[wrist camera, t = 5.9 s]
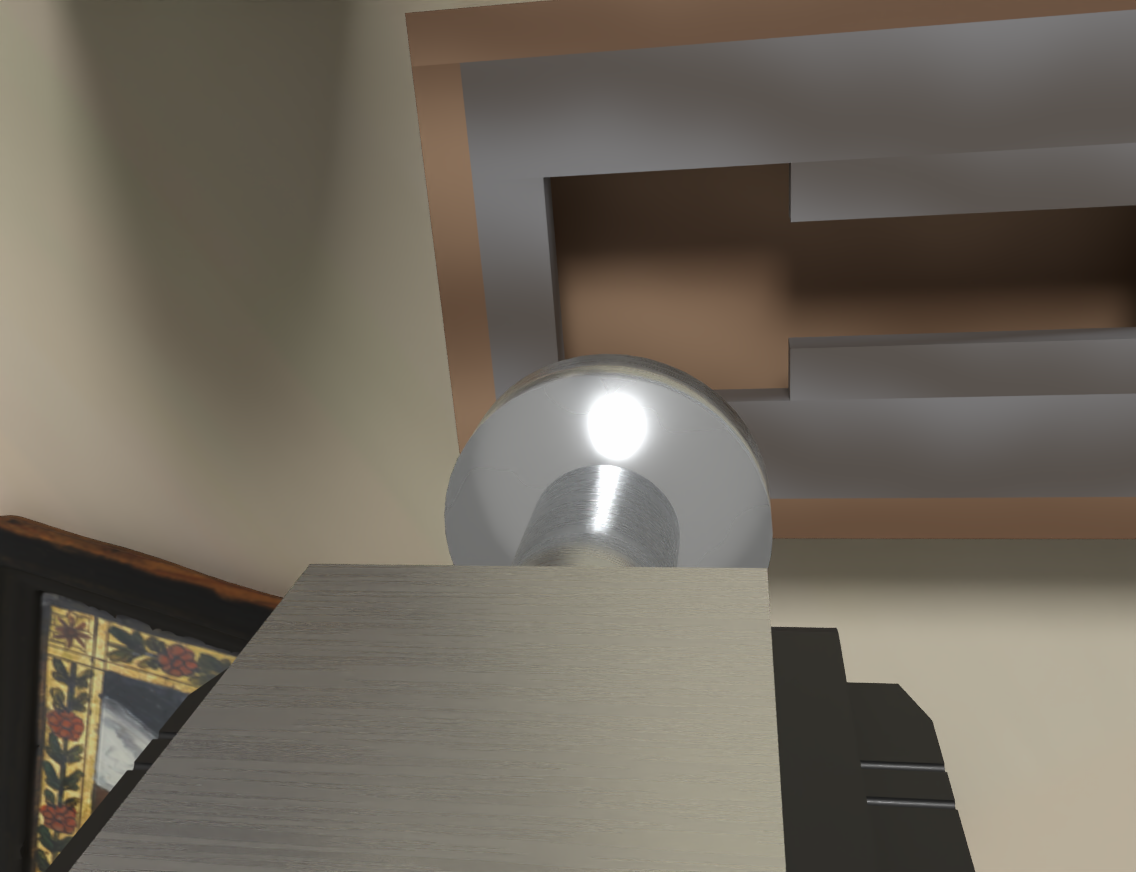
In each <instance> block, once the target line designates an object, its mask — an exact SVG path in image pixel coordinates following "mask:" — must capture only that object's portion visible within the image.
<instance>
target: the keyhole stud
mask: <svg viewBox="0 0 1136 872" xmlns="http://www.w3.org/2000/svg"><path fill="white" fill-rule="evenodd" d="M444 515H445V532H446V538H447V543H448V548H449V552H450V555H451V558H452V561H453V564H454V565H350V564H310V565H309V566H308V567H307V569H306V570H305V571H304V572H303V574H302V575H301V576H300V578H299V579H298V580H297V581H296V583H295V584H294V585H293V586H292V588H291V589H290V590H289V592H288V593H287V594H286V595H285V597H284V598H283V599H282V600H281V602H280V603H279V604H278V606H277V607H276V608H275V609H274V611H273V612H272V613H271V614H270V616H269V617H268V618H267V620H266V621H265V622H264V623H263V625H262V626H261V627H260V628H259V630H258V631H257V632H256V634H255V635H254V636H253V637H252V639H251V640H250V641H249V642H248V644H247V645H246V646H245V648H244V649H243V650H242V651H241V653H240V654H239V655H238V657H237V658H236V659H235V660H234V662H233V663H232V664H231V665H230V667H229V668H228V669H227V671H226V672H225V673H224V674H223V676H222V677H221V678H220V679H219V681H218V682H217V683H216V685H215V686H214V687H213V688H212V690H211V691H210V692H209V693H208V695H207V696H206V697H205V699H204V700H203V701H202V702H201V704H200V705H199V706H198V707H197V709H196V710H195V711H194V713H193V714H192V715H191V716H190V718H189V719H188V720H187V721H186V723H185V724H184V725H183V727H182V728H181V729H180V730H179V732H178V733H177V734H176V735H175V737H174V738H173V739H172V741H171V742H170V743H169V744H168V746H167V747H166V748H165V749H164V751H163V752H162V753H161V755H160V756H159V757H158V758H157V760H156V761H155V762H154V763H153V765H152V766H151V767H150V769H149V770H148V771H147V772H146V774H145V775H144V776H143V777H142V779H141V780H140V781H139V783H138V784H137V785H136V786H135V788H134V789H133V790H132V791H131V793H130V794H129V795H128V797H127V798H126V799H125V800H124V802H123V803H122V804H121V805H120V807H119V808H118V809H117V811H116V812H115V813H114V814H113V816H112V817H111V818H110V820H109V821H108V822H107V823H106V825H105V826H104V827H103V828H102V830H101V831H100V832H99V834H98V835H97V836H96V837H95V839H94V840H93V841H92V842H91V844H90V845H89V846H88V848H87V849H86V850H85V851H84V853H83V854H82V855H81V856H80V858H79V859H78V860H77V862H76V863H75V864H74V865H73V867H72V868H71V869H70V870H69V872H786V863H785V847H784V831H783V815H782V799H781V783H780V766H779V750H778V734H777V718H776V702H775V685H774V669H773V653H772V637H771V621H770V604H769V588H768V572H767V570H768V566H769V562H770V557H771V550H772V537H773V532H772V518H771V505H770V492H769V481H768V477H767V472H766V468H765V464H764V461H763V458H762V456H761V453H760V450H759V448H758V445H757V443H756V442H755V440H754V438H753V436H752V434H751V433H750V431H749V429H748V427H747V426H746V425H745V423H744V422H743V421H742V419H741V418H740V417H739V415H738V414H737V413H736V411H735V410H734V409H733V408H732V407H731V406H730V405H729V404H728V403H727V402H726V401H725V400H724V399H723V398H722V397H721V396H720V395H718V394H717V393H716V392H715V391H713V390H712V389H711V388H710V387H708V386H707V385H706V384H704V383H703V382H701V381H699V380H698V379H696V378H694V377H693V376H691V375H689V374H688V373H686V372H684V371H681V370H679V369H677V368H674V367H672V366H670V365H668V364H665V363H661V362H658V361H654V360H651V359H648V358H643V357H637V356H630V355H622V354H596V355H585V356H579V357H574V358H570V359H565V360H561V361H559V362H556V363H553V364H551V365H548V366H545V367H543V368H541V369H539V370H537V371H535V372H533V373H531V374H529V375H527V376H525V377H524V378H523V379H521V380H520V381H518V382H517V383H516V384H514V385H513V386H511V387H510V388H509V389H508V390H507V391H506V392H505V393H504V394H503V395H502V396H500V397H499V398H498V399H497V400H496V401H495V403H494V404H493V405H492V406H491V408H490V409H489V410H488V411H487V413H486V414H485V415H484V417H483V418H482V420H481V421H480V423H479V425H478V426H477V428H476V429H475V431H474V432H473V434H472V436H471V437H470V439H469V440H468V442H467V443H466V445H465V447H464V449H463V450H462V452H461V454H460V456H459V457H458V459H457V462H456V464H455V467H454V469H453V472H452V474H451V477H450V481H449V485H448V489H447V494H446V502H445V514H444Z"/></svg>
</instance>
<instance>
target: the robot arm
mask: <svg viewBox="0 0 1136 872" xmlns="http://www.w3.org/2000/svg"><path fill="white" fill-rule="evenodd" d="M771 637H772V653H773V669H774V685H775V702H776V718H777V734H778V750H779V766H780V783H781V799H782V815H783V831H784V847H785V863H786V872H975V870H974V866H973V863H972V859H971V856H970V852H969V848H968V845H967V841H966V838H965V834H964V831H963V827H962V824H961V820H960V817H959V813H958V810H955V799H954V796H953V792H952V789H951V785H950V781H949V778H948V774H947V772H945V768H944V760H943V757H942V753H941V750H940V746H939V743H938V739H937V736H936V732H935V729H934V725H933V722H932V720H931V719H930V718H929V717H928V716H927V714H926V713H925V712H924V711H923V710H922V709H921V708H920V707H919V706H918V705H917V704H916V703H915V702H914V700H913V699H912V698H911V697H910V696H909V695H908V694H907V693H906V692H905V691H904V690H903V689H902V688H901V686H900V685H899V684H886V683H849V682H847V681H846V675H845V669H844V663H843V657H842V652H841V646H840V640H839V634H838V630H837V628H806V627H771ZM228 668H229V667H228ZM228 668H227V669H228ZM227 669H226V670H224V671H223V672H221V673H220V674H218V675H217V676H215V677H214V678H212V679H211V680H210V681H208V682H207V683H205V684H204V685H202V686H201V687H199V688H198V689H196V690H195V691H194V692H192V693H191V694H189V695H188V696H187V697H186V698H185V700H184V701H183V702H182V703H181V705H180V706H179V707H178V708H177V710H176V711H175V712H174V713H173V714H172V716H171V717H170V718H169V719H168V721H167V722H166V723H165V724H164V726H163V727H162V728H161V729H160V730H159V736H158V739H152V740H151V742H150V743H149V744H148V745H147V746H146V748H145V749H144V750H143V751H142V753H141V754H140V755H139V756H138V758H137V759H136V760H135V761H134V768H133V770H127V771H126V772H125V774H124V775H123V776H122V777H121V779H120V780H119V781H118V782H117V783H116V785H115V786H114V787H113V788H112V790H111V791H110V792H109V793H108V795H107V796H106V797H105V798H104V799H103V801H102V802H101V803H100V804H99V806H98V807H97V808H96V809H95V811H94V812H93V813H92V814H91V815H90V817H89V818H88V819H87V820H86V822H85V823H84V824H83V825H82V827H81V828H80V829H79V830H78V831H77V833H76V834H75V835H74V836H73V838H72V839H71V840H70V841H69V843H68V844H67V845H66V846H65V847H64V849H63V850H62V851H61V852H60V854H59V855H58V856H57V857H56V859H55V860H54V861H53V862H52V863H51V865H50V866H49V867H48V868H47V870H46V871H45V872H69V870H70V869H71V868H72V867H73V865H74V864H75V863H76V862H77V860H78V859H79V858H80V856H81V855H82V854H83V853H84V851H85V850H86V849H87V848H88V846H89V845H90V844H91V842H92V841H93V840H94V839H95V837H96V836H97V835H98V834H99V832H100V831H101V830H102V828H103V827H104V826H105V825H106V823H107V822H108V821H109V820H110V818H111V817H112V816H113V814H114V813H115V812H116V811H117V809H118V808H119V807H120V805H121V804H122V803H123V802H124V800H125V799H126V798H127V797H128V795H129V794H130V793H131V791H132V790H133V789H134V788H135V786H136V785H137V784H138V783H139V781H140V780H141V779H142V777H143V776H144V775H145V774H146V772H147V771H148V770H149V769H150V767H151V766H152V765H153V763H154V762H155V761H156V760H157V758H158V757H159V756H160V755H161V753H162V752H163V751H164V749H165V748H166V747H167V746H168V744H169V743H170V742H171V741H172V739H173V738H174V737H175V735H176V734H177V733H178V732H179V730H180V729H181V728H182V727H183V725H184V724H185V723H186V721H187V720H188V719H189V718H190V716H191V715H192V714H193V713H194V711H195V710H196V709H197V707H198V706H199V705H200V704H201V702H202V701H203V700H204V699H205V697H206V696H207V695H208V693H209V692H210V691H211V690H212V688H213V687H214V686H215V685H216V683H217V682H218V681H219V679H220V678H221V677H222V676H223V674H224V673H225V672H226V671H227Z"/></svg>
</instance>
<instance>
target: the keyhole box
mask: <svg viewBox="0 0 1136 872" xmlns="http://www.w3.org/2000/svg"><path fill="white" fill-rule="evenodd" d="M405 17H406V25H407V33H408V41H409V49H410V57H411V65H412V73H413V81H414V89H415V97H416V105H417V113H418V121H419V130H420V138H421V146H422V154H423V162H424V170H425V178H426V186H427V194H428V202H429V210H430V218H431V226H432V234H433V242H434V250H435V258H436V266H437V274H438V283H439V291H440V299H441V307H442V315H443V323H444V331H445V339H446V347H447V355H448V363H449V371H450V379H451V387H452V395H453V403H454V411H455V419H456V427H457V436H458V444H459V452H460V454H461V452H462V450H463V449H464V447H465V445H466V443H467V442H468V440H469V439H470V437H471V436H472V434H473V432H474V431H475V429H476V428H477V426H478V425H479V423H480V421H481V420H482V418H483V417H484V415H485V414H486V413H487V411H488V410H489V409H490V408H491V406H492V405H493V404H494V403H495V401H496V400H497V399H498V398H499V397H500V396H502V395H503V394H504V393H505V392H506V391H507V390H508V389H509V388H510V387H511V386H513V385H514V384H516V383H517V382H518V381H520V380H521V379H523V378H524V377H525V376H527V375H529V374H531V373H533V372H535V371H537V370H539V369H541V368H543V367H545V366H548V365H551V364H553V363H556V362H559V361H561V360H565V359H570V358H574V357H579V356H585V355H596V354H622V355H630V356H637V357H643V358H648V359H651V360H654V361H658V362H661V363H665V364H668V365H670V366H672V367H674V368H677V369H679V370H681V371H684V372H686V373H688V374H689V375H691V376H693V377H694V378H696V379H698V380H699V381H701V382H703V383H704V384H706V385H707V386H708V387H710V388H711V389H712V390H713V391H715V392H716V393H717V394H718V395H720V396H721V397H722V398H723V399H724V400H725V401H726V402H727V403H728V404H729V405H730V406H731V407H732V408H733V409H734V410H735V411H736V413H737V414H738V415H739V417H740V418H741V419H742V421H743V422H744V423H745V425H746V426H747V427H748V429H749V431H750V433H751V434H752V436H753V438H754V440H755V442H756V443H757V445H758V448H759V450H760V453H761V456H762V458H763V461H764V464H765V468H766V472H767V477H768V481H769V492H770V505H771V518H772V532H773V537H772V538H850V539H1136V0H549V1H537V2H526V3H514V4H503V5H492V6H480V7H469V8H458V9H446V10H435V11H424V12H412V13H405Z"/></svg>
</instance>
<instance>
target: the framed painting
mask: <svg viewBox="0 0 1136 872" xmlns="http://www.w3.org/2000/svg"><path fill="white" fill-rule="evenodd" d="M282 599H283V598H281V597H278V596H274V595H270V594H267V593H263V592H259V591H256V590H253V589H249V588H246V587H243V586H240V585H237V584H233V583H229V582H226V581H223V580H220V579H218V578H215V577H211V576H208V575H205V574H202V573H200V572H197V571H194V570H191V569H188V568H186V567H183V566H180V565H178V564H175V563H172V562H169V561H166V560H163V559H160V558H157V557H154V556H150V555H147V554H144V553H141V552H138V551H134V550H131V549H128V548H124V547H121V546H117V545H113V544H110V543H106V542H102V541H98V540H94V539H90V538H87V537H83V536H80V535H77V534H74V533H70V532H67V531H64V530H61V529H58V528H55V527H52V526H48V525H46V524H42V523H39V522H36V521H33V520H30V519H27V518H23V517H19V516H13V515H7V516H0V872H45V871H46V870H47V868H48V867H49V866H50V865H51V863H52V862H53V861H54V860H55V859H56V857H57V856H58V855H59V854H60V852H61V851H62V850H63V849H64V847H65V846H66V845H67V844H68V843H69V841H70V840H71V839H72V838H73V836H74V835H75V834H76V833H77V831H78V830H79V829H80V828H81V827H82V825H83V824H84V823H85V822H86V820H87V819H88V818H89V817H90V815H91V814H92V813H93V812H94V811H95V809H96V808H97V807H98V806H99V804H100V803H101V802H102V801H103V799H104V798H105V797H106V796H107V795H108V793H109V792H110V791H111V790H112V788H113V787H114V786H115V785H116V783H117V782H118V781H119V780H120V779H121V777H122V776H123V775H124V774H125V772H126V771H127V770H133V768H134V761H135V760H136V759H137V758H138V756H139V755H140V754H141V753H142V751H143V750H144V749H145V748H146V746H147V745H148V744H149V743H150V742H151V740H152V739H158V736H159V730H160V729H161V728H162V727H163V726H164V724H165V723H166V722H167V721H168V719H169V718H170V717H171V716H172V714H173V713H174V712H175V711H176V710H177V708H178V707H179V706H180V705H181V703H182V702H183V701H184V700H185V698H186V697H187V696H188V695H189V694H191V693H192V692H194V691H195V690H196V689H198V688H199V687H201V686H202V685H204V684H205V683H207V682H208V681H210V680H211V679H212V678H214V677H215V676H217V675H218V674H220V673H221V672H223V671H224V670H226V669H227V668H228V667H230V665H231V664H232V663H233V662H234V660H235V659H236V658H237V657H238V655H239V654H240V653H241V651H242V650H243V649H244V648H245V646H246V645H247V644H248V642H249V641H250V640H251V639H252V637H253V636H254V635H255V634H256V632H257V631H258V630H259V628H260V627H261V626H262V625H263V623H264V622H265V621H266V620H267V618H268V617H269V616H270V614H271V613H272V612H273V611H274V609H275V608H276V607H277V606H278V604H279V603H280V602H281V600H282Z"/></svg>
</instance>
